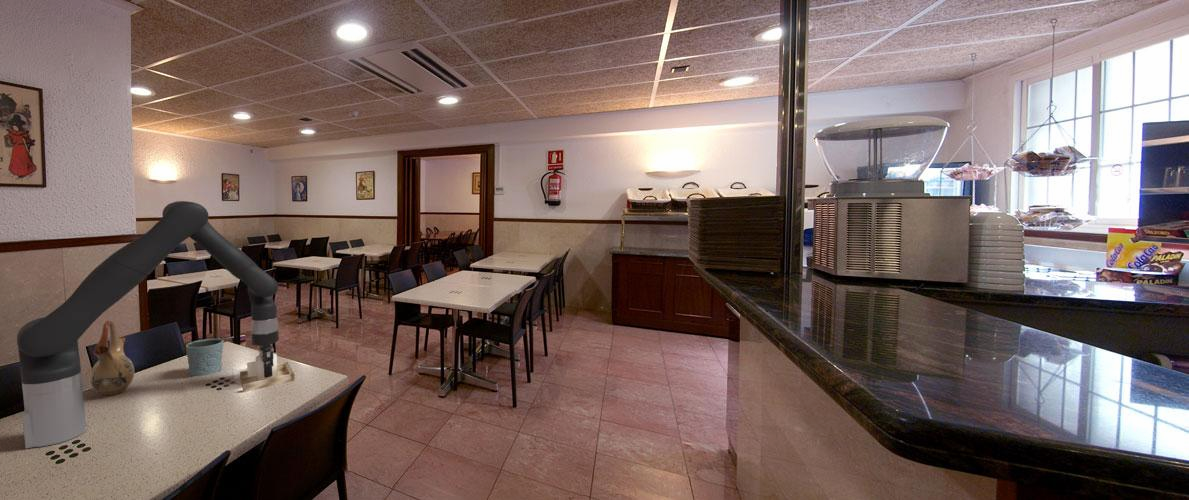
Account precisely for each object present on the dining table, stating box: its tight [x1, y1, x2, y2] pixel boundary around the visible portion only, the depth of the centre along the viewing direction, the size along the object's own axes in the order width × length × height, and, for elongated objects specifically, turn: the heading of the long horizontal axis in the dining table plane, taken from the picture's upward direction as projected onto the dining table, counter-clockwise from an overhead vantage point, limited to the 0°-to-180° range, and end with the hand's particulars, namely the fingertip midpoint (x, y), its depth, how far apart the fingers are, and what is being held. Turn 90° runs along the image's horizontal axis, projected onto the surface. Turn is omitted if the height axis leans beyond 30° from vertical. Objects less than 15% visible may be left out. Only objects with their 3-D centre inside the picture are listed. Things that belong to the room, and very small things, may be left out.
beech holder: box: [239, 361, 295, 393], centre depth 142 cm, size 14×15×3 cm
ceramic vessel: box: [89, 320, 135, 396], centre depth 128 cm, size 16×9×25 cm, turn 37°
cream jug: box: [246, 352, 278, 381], centre depth 140 cm, size 8×6×9 cm
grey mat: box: [232, 367, 247, 381], centre depth 147 cm, size 10×10×1 cm
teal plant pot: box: [185, 338, 224, 378], centre depth 146 cm, size 10×10×12 cm
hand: (267, 373), depth 141 cm, fingers closed on cream jug, 6 cm apart
